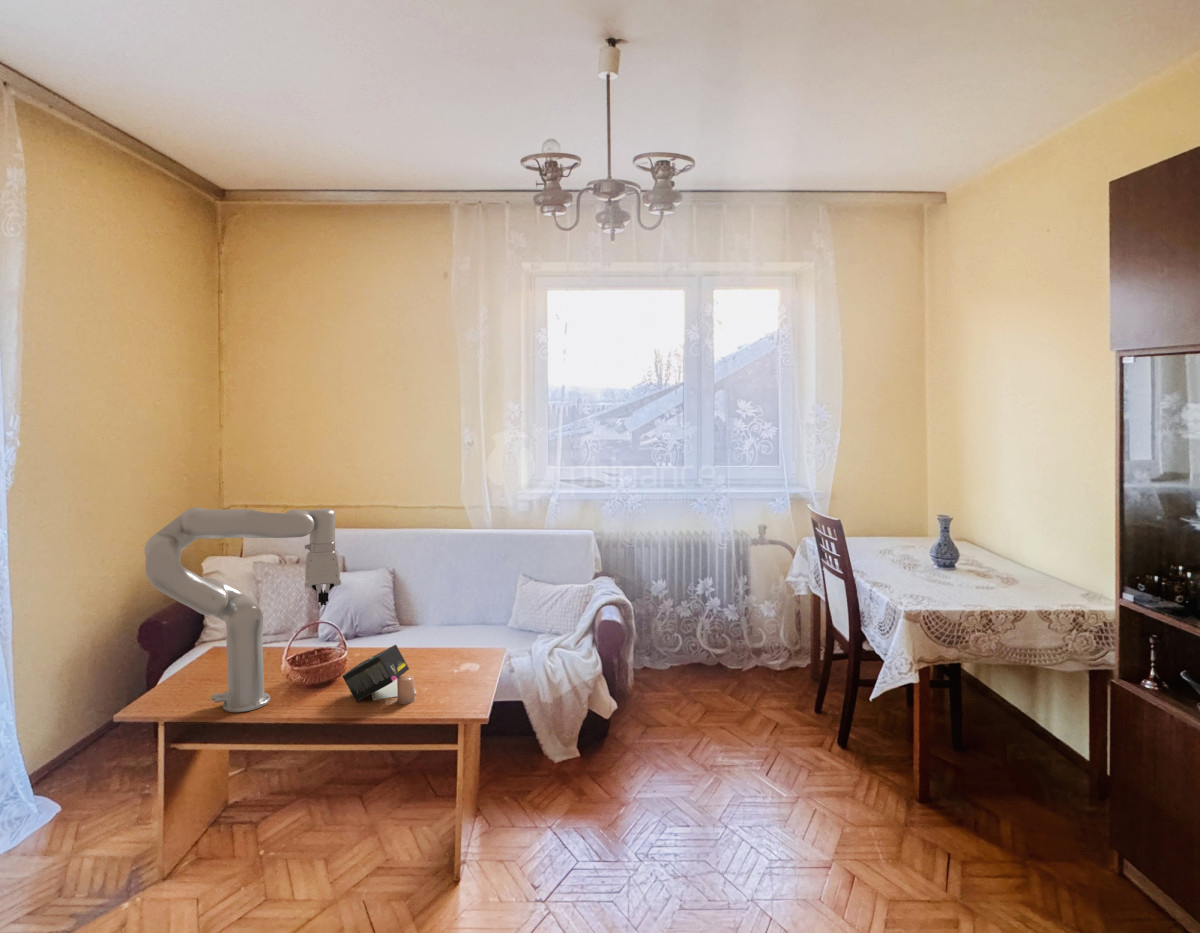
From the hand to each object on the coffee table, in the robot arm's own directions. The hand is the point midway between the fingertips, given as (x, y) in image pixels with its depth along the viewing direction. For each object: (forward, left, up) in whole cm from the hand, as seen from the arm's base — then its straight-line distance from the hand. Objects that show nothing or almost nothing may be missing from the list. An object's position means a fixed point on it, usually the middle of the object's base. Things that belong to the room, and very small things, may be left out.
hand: (323, 604), depth 211 cm
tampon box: (+10, -12, -23) cm, 27 cm away
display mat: (+20, -10, -27) cm, 35 cm away
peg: (+23, -22, -27) cm, 42 cm away
